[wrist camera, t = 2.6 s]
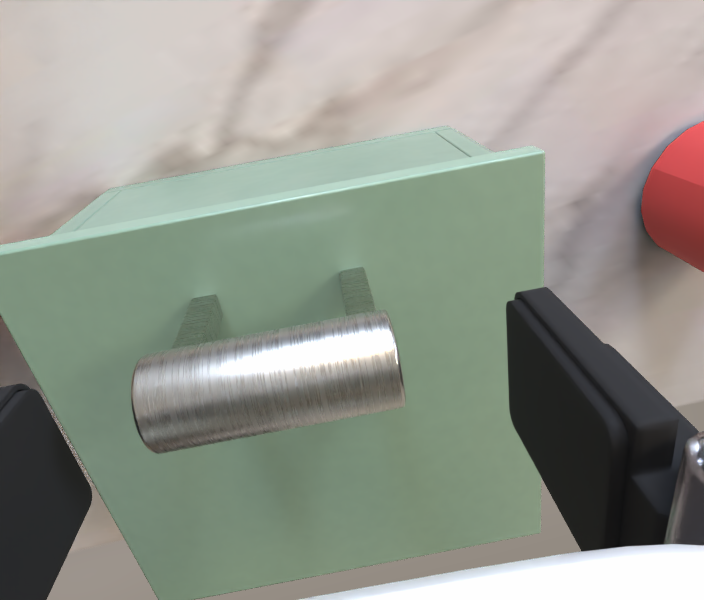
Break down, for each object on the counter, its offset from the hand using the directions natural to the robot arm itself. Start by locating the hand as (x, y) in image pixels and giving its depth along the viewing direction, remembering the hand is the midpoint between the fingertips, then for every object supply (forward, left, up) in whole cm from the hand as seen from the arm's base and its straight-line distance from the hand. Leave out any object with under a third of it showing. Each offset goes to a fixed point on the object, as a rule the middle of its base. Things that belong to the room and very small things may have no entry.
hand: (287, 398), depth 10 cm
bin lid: (+4, 0, -5) cm, 7 cm away
